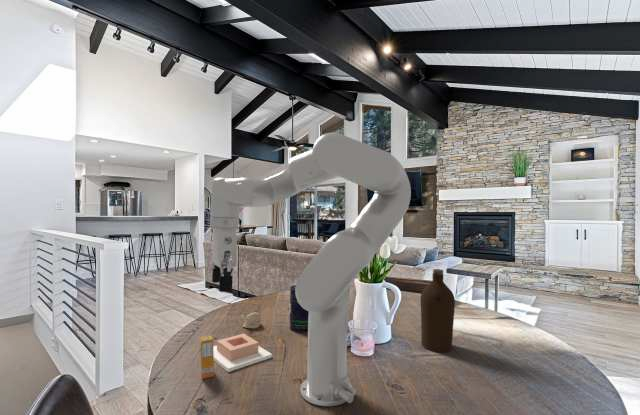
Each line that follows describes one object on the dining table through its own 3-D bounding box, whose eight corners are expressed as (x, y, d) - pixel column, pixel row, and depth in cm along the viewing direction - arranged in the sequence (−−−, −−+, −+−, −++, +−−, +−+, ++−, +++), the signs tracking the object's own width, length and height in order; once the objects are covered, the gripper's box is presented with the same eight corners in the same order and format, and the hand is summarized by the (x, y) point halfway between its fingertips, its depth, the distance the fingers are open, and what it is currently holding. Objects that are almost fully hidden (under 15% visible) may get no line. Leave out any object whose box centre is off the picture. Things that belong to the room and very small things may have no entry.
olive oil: (461, 351, 107) (462, 272, 107) (431, 354, 104) (432, 273, 104) (441, 338, 117) (442, 266, 117) (413, 341, 115) (415, 267, 114)
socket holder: (271, 357, 101) (272, 344, 101) (228, 372, 91) (228, 357, 91) (245, 340, 113) (245, 328, 113) (204, 352, 103) (204, 339, 103)
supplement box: (199, 373, 91) (200, 336, 90) (213, 371, 92) (213, 334, 92) (200, 379, 87) (200, 340, 87) (214, 377, 89) (214, 339, 88)
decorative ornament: (263, 326, 126) (264, 311, 126) (243, 331, 121) (243, 316, 121) (258, 323, 130) (258, 309, 130) (238, 327, 124) (238, 313, 124)
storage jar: (285, 331, 121) (286, 289, 121) (294, 322, 131) (294, 283, 131) (312, 334, 119) (313, 292, 119) (319, 324, 129) (319, 285, 128)
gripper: (246, 226, 86) (243, 293, 86) (231, 221, 101) (228, 278, 102) (216, 226, 82) (213, 296, 83) (204, 220, 98) (202, 279, 98)
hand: (221, 286), depth 92 cm, fingers open, 9 cm apart
